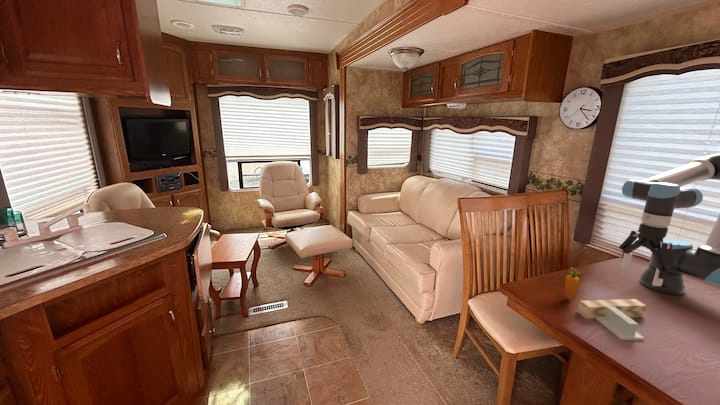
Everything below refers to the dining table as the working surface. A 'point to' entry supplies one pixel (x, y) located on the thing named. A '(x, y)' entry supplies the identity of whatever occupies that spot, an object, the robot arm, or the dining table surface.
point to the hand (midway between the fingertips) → (639, 276)
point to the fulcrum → (620, 324)
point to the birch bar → (599, 307)
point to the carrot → (571, 284)
